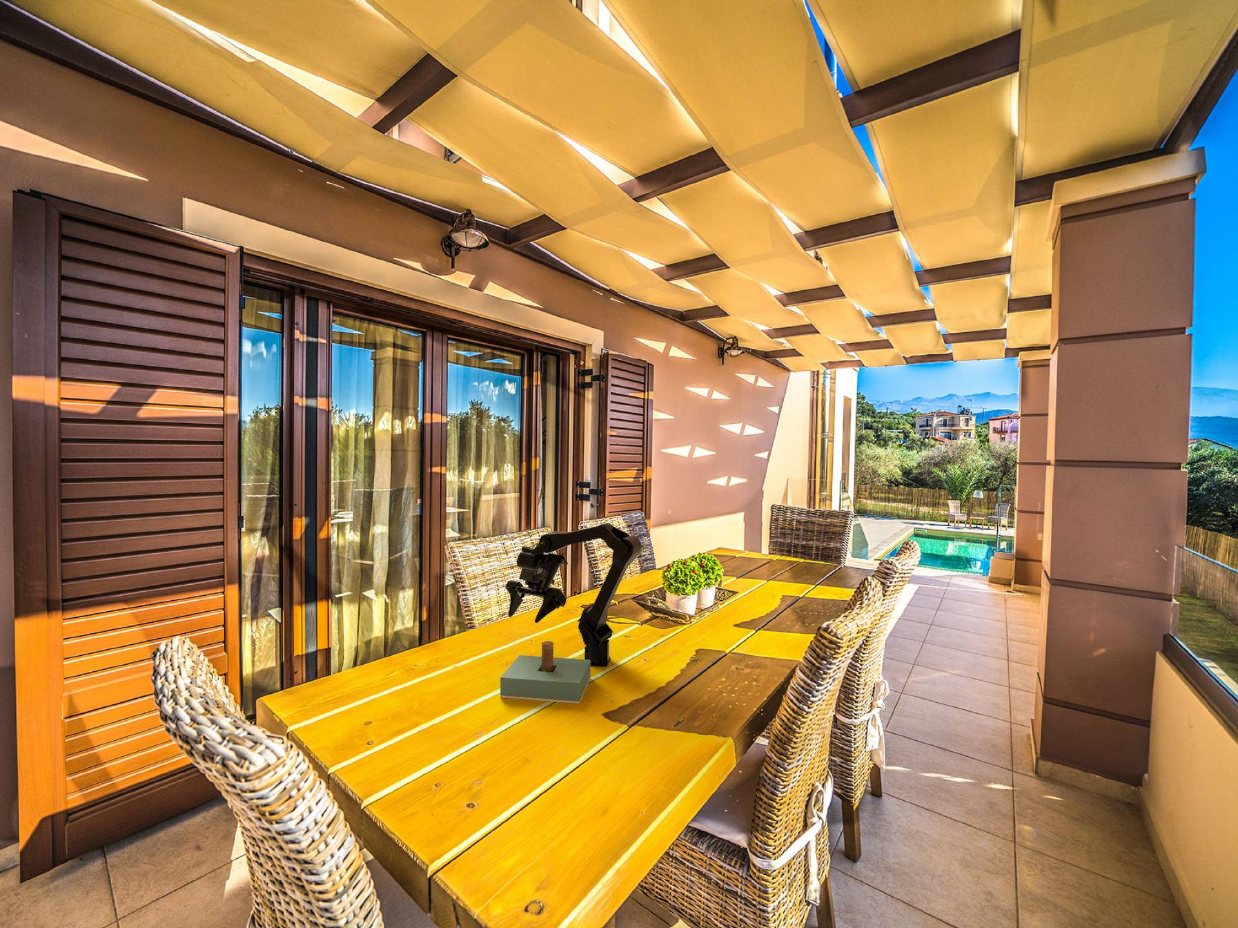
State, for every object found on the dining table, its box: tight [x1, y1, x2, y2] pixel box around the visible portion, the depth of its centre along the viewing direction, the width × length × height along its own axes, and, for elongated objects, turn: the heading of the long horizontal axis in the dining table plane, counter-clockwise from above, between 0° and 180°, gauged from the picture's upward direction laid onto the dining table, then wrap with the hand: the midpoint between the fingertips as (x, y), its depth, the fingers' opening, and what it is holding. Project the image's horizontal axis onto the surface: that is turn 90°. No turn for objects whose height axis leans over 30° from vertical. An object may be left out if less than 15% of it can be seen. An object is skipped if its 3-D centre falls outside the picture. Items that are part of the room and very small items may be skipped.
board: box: [499, 654, 592, 705], centre depth 131 cm, size 20×14×5 cm
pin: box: [541, 640, 554, 672], centre depth 131 cm, size 3×3×11 cm
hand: (522, 619), depth 142 cm, fingers open, 9 cm apart
